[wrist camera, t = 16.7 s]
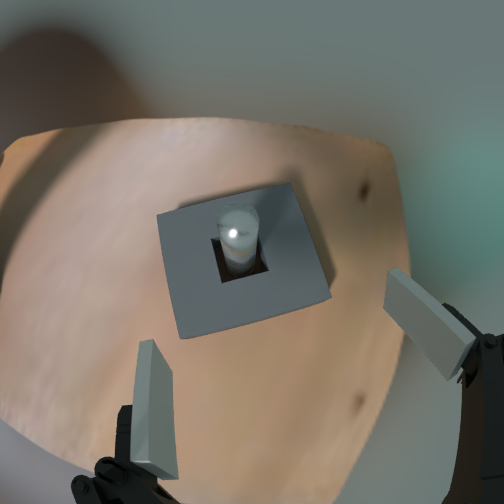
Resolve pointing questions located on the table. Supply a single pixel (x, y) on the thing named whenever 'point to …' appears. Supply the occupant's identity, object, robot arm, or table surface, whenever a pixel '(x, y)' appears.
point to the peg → (238, 237)
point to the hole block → (248, 288)
